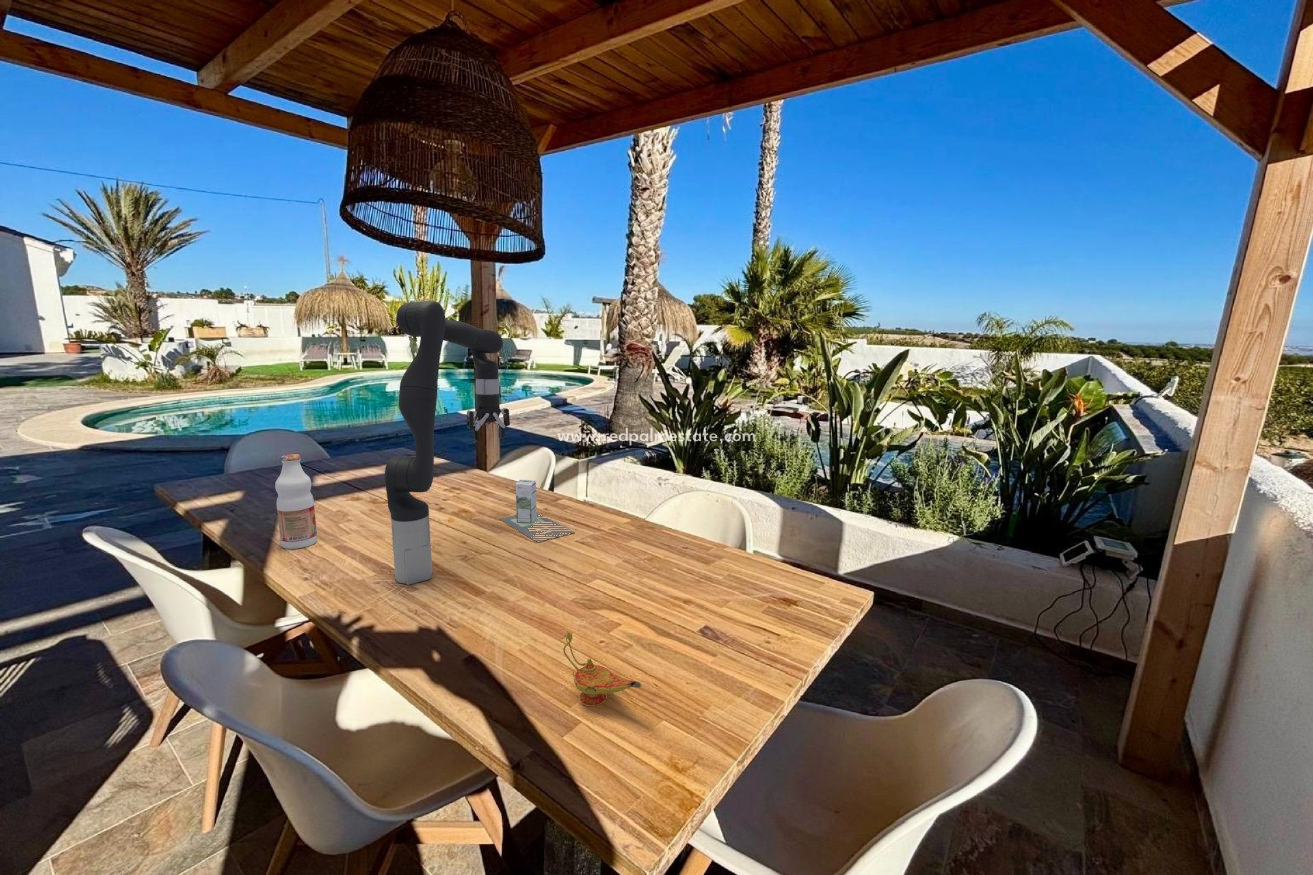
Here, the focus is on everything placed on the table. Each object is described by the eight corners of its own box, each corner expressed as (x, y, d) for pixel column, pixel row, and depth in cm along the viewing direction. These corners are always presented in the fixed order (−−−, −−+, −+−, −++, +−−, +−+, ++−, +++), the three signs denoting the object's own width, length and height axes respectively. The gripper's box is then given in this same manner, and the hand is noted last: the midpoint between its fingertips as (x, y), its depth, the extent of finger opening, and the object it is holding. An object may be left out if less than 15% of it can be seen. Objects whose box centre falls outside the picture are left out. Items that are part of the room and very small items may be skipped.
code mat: (574, 533, 178) (574, 532, 178) (537, 542, 169) (537, 542, 169) (534, 511, 199) (534, 511, 199) (499, 519, 190) (499, 518, 190)
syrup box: (537, 518, 191) (536, 479, 188) (531, 523, 185) (531, 484, 182) (521, 517, 191) (521, 478, 189) (516, 522, 186) (515, 483, 183)
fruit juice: (274, 546, 161) (263, 457, 156) (304, 536, 170) (296, 451, 165) (294, 551, 158) (284, 460, 152) (324, 541, 166) (316, 454, 161)
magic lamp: (628, 732, 89) (629, 673, 87) (550, 691, 98) (550, 637, 96) (651, 709, 94) (652, 653, 92) (575, 673, 104) (575, 621, 102)
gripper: (471, 394, 169) (473, 444, 172) (512, 392, 178) (513, 439, 181) (462, 392, 174) (464, 440, 177) (502, 390, 184) (504, 436, 187)
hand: (489, 439), depth 179 cm, fingers open, 8 cm apart
